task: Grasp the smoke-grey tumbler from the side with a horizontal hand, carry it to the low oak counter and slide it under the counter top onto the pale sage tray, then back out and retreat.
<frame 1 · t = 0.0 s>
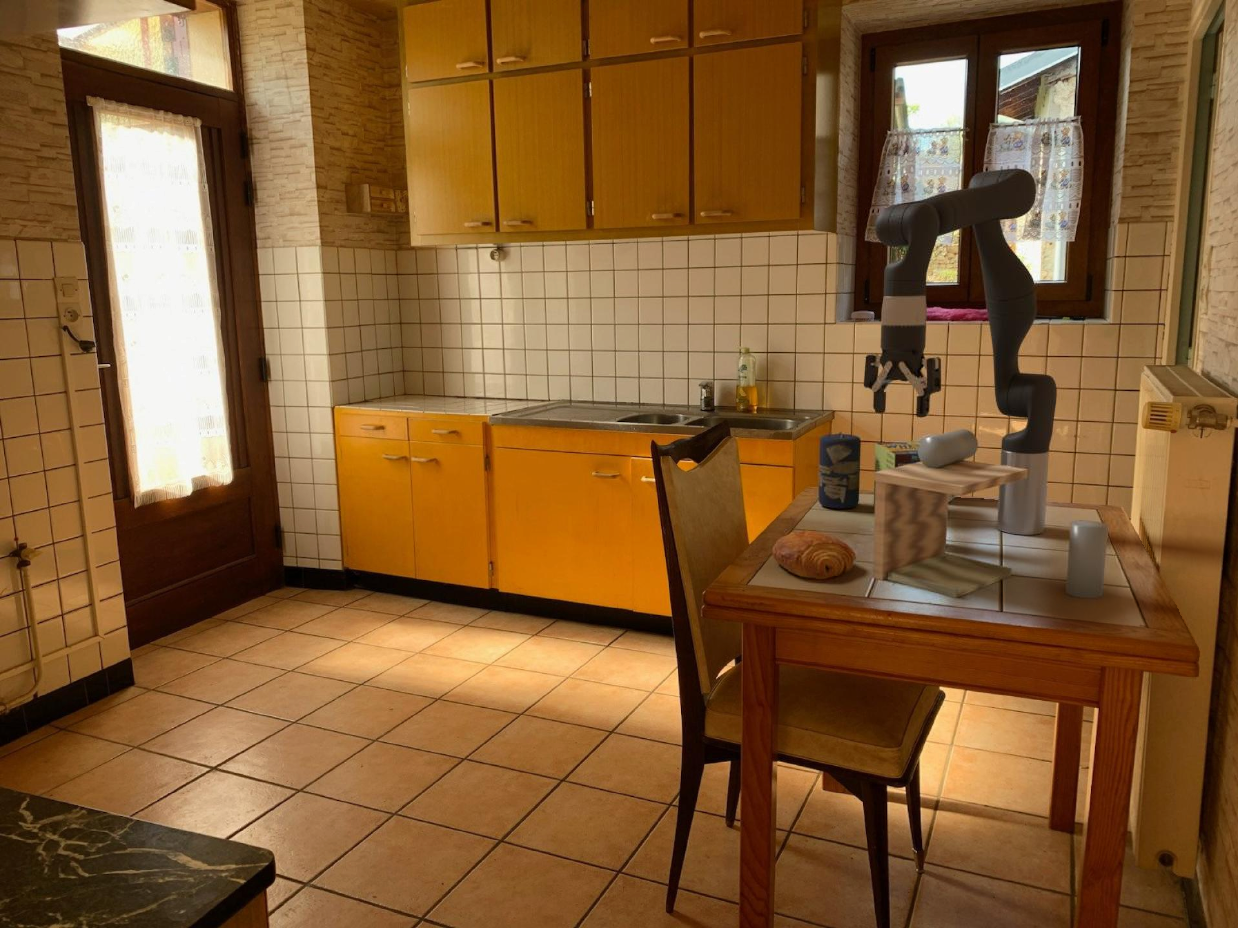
hand: (900, 414, 166), 29 cm above the table, tool pointing down, fingers open, 8 cm apart
protein box: (904, 514, 216), on the table
croissant: (813, 569, 176), on the table
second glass: (932, 452, 168), point 22 cm above the table, tilted 90°, touching counter
smoke glass: (1083, 593, 159), on the table
canister: (838, 506, 224), on the table
counter: (948, 577, 169), on the table
tea box: (935, 497, 232), on the table
travel mug: (930, 546, 190), on the table
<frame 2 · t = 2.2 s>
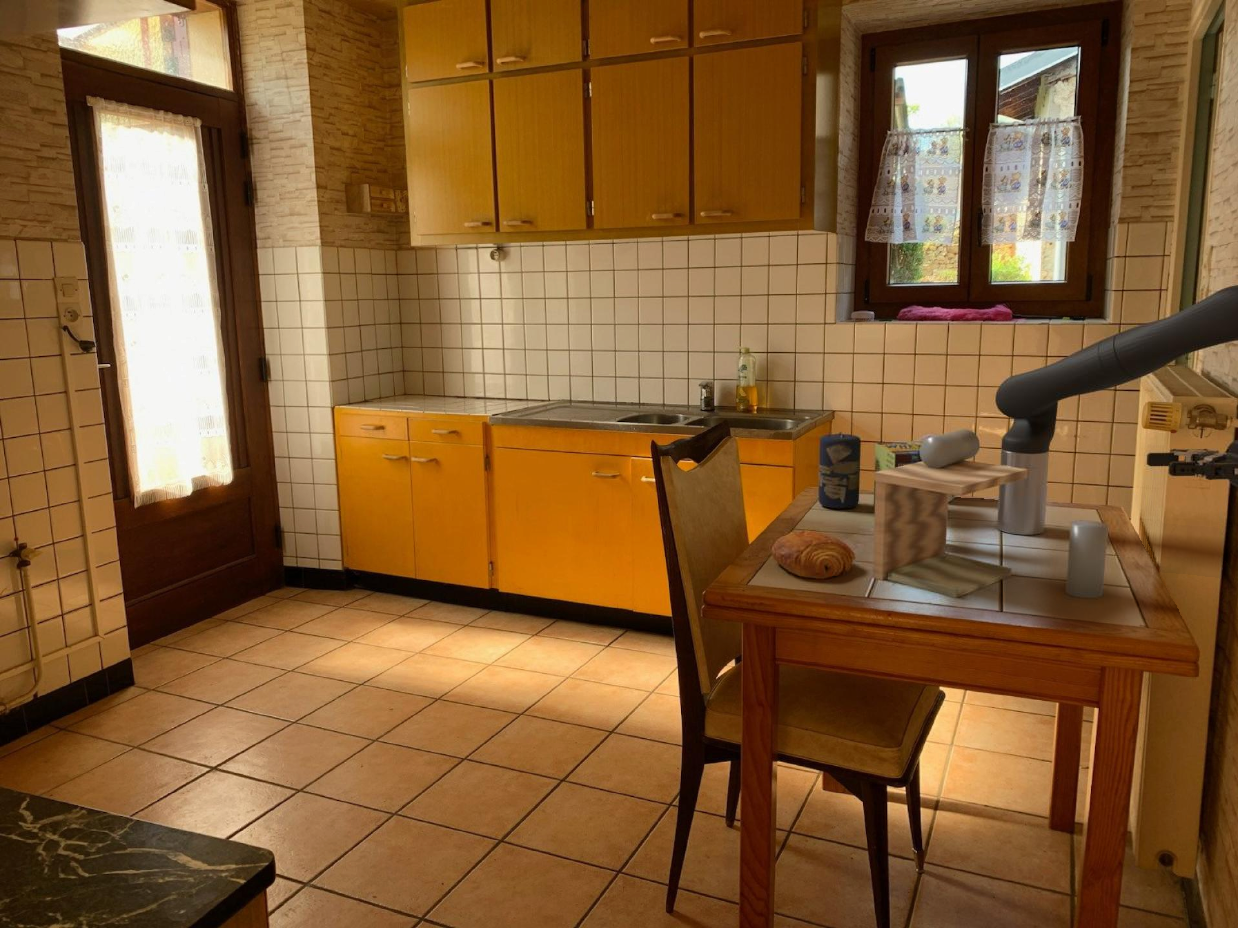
hand: (1158, 464, 154), 22 cm above the table, tool horizontal, fingers open, 8 cm apart
nothing on the table moved.
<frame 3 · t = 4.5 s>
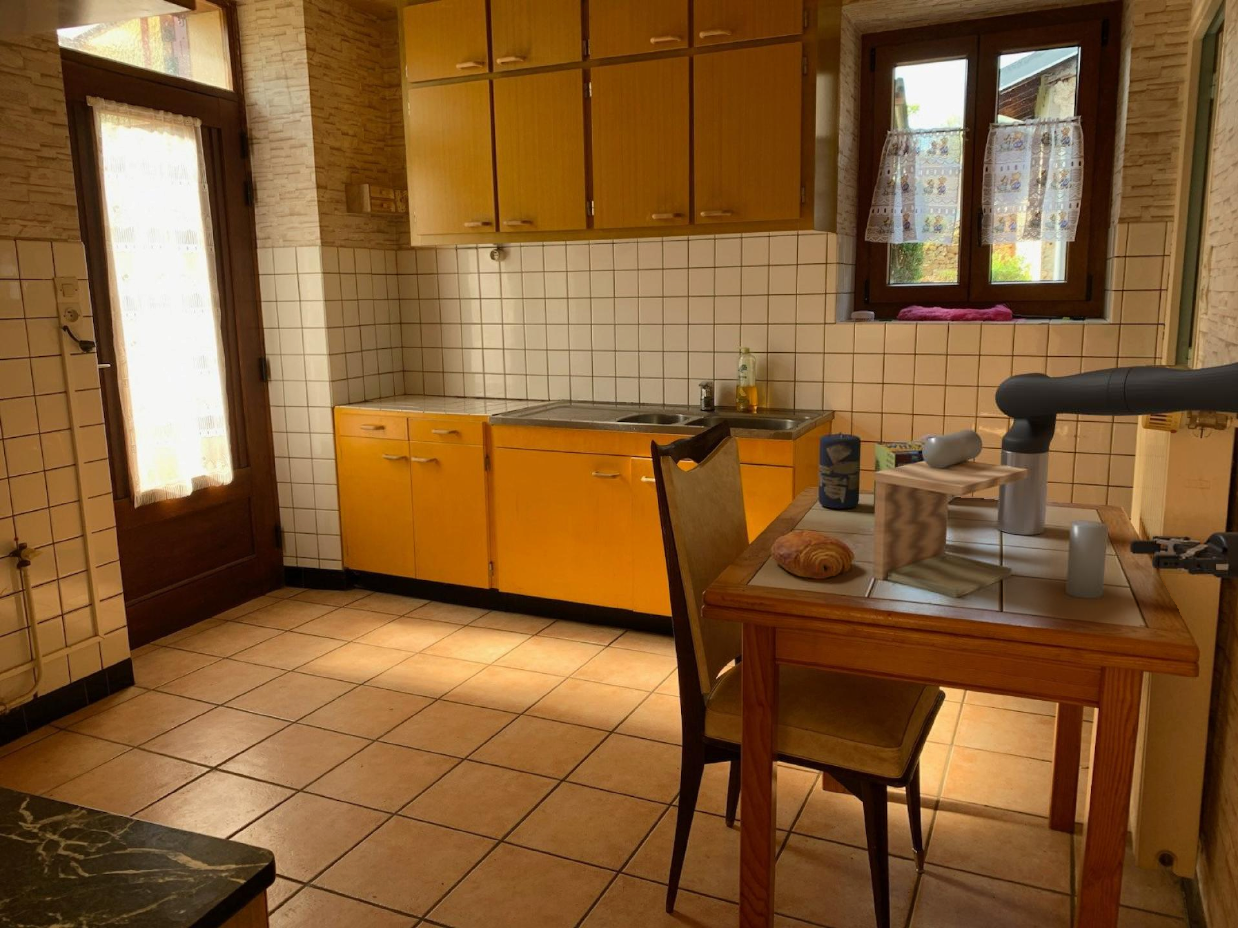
hand: (1142, 554, 157), 7 cm above the table, tool horizontal, fingers open, 8 cm apart
nothing on the table moved.
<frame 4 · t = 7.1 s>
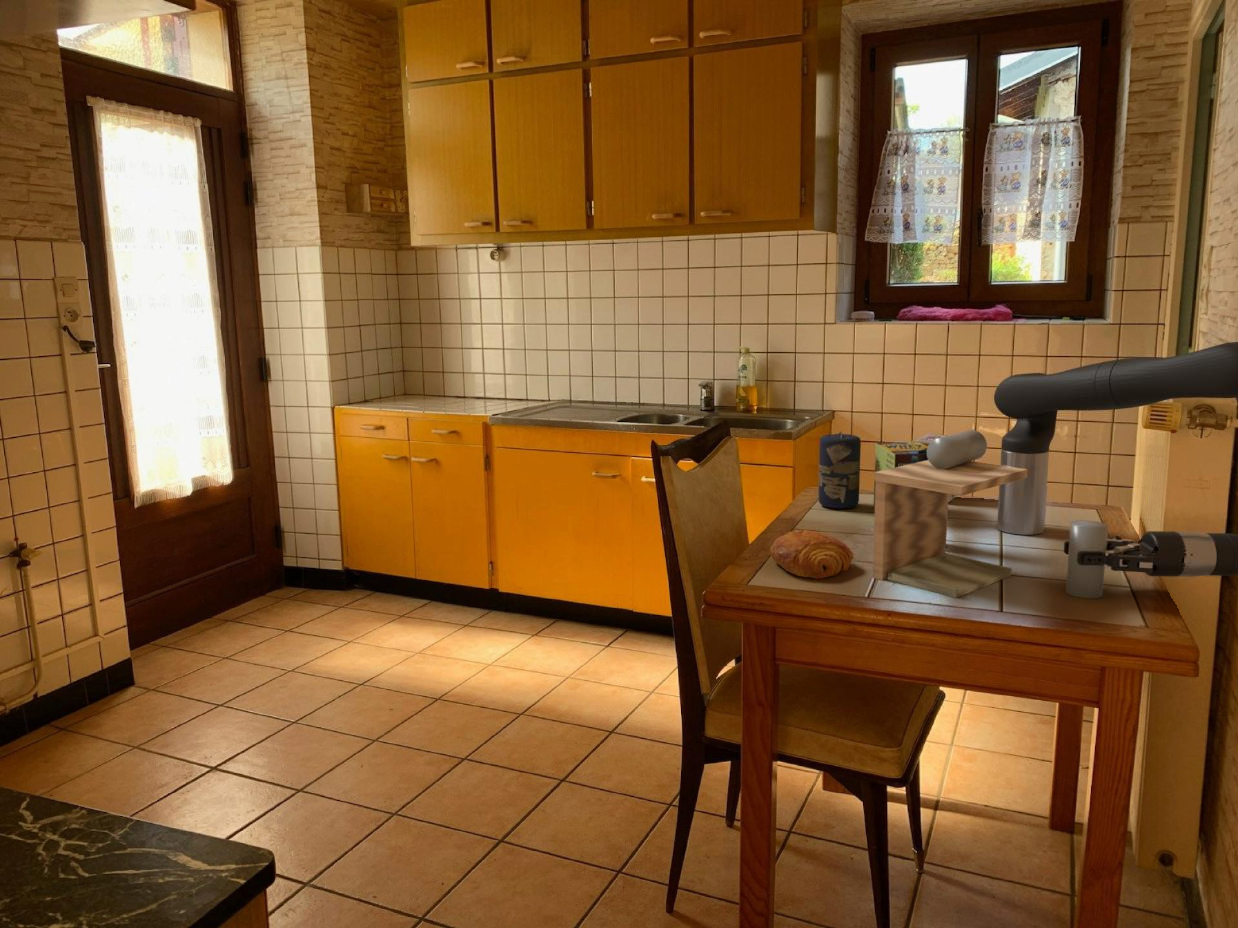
hand: (1071, 552, 158), 7 cm above the table, tool horizontal, fingers closed on smoke glass, 5 cm apart
smoke glass: (1084, 592, 159), on the table, touching gripper
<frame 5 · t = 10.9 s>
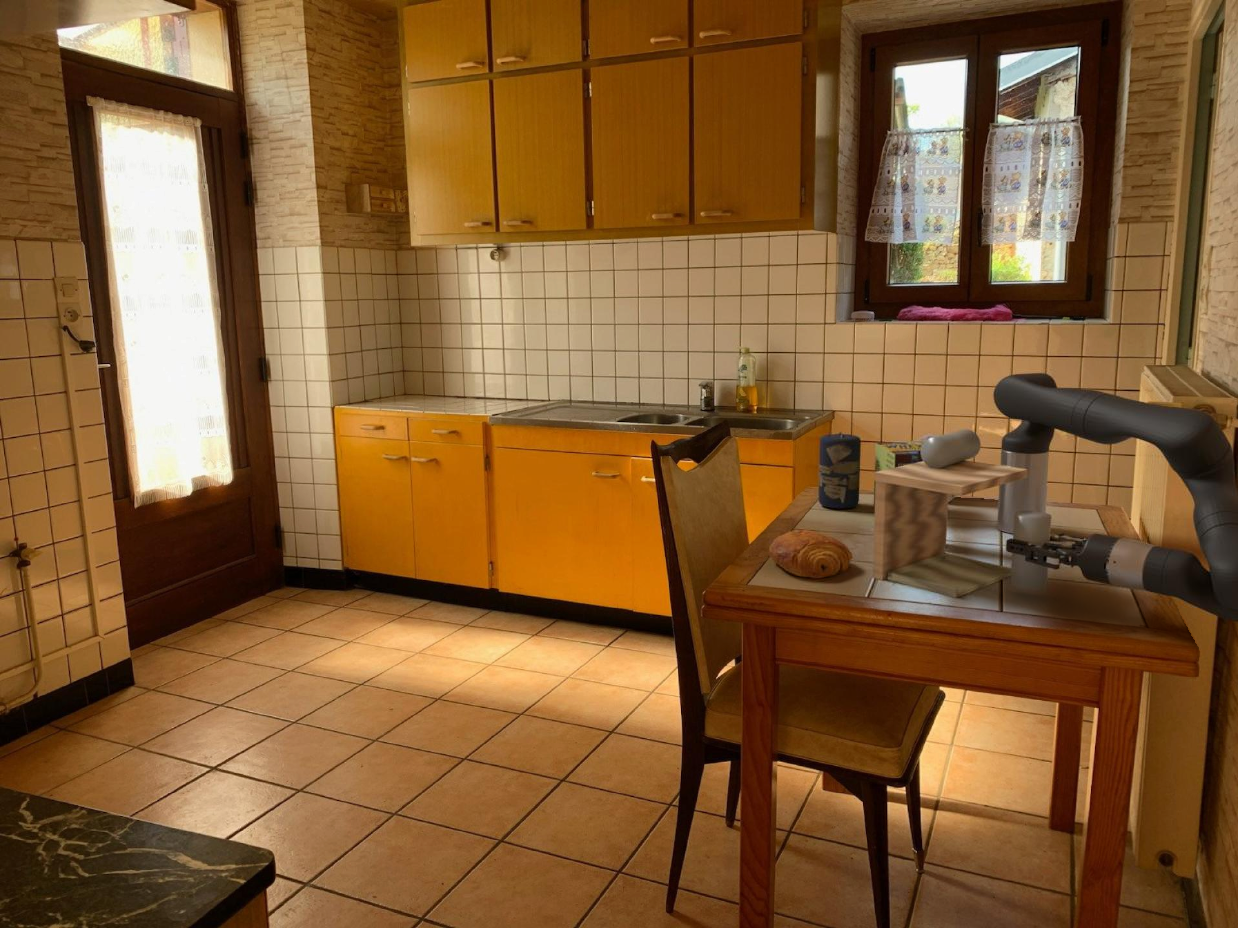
hand: (1017, 541, 158), 9 cm above the table, tool horizontal, fingers closed on smoke glass, 5 cm apart
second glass: (935, 453, 168), point 22 cm above the table, tilted 90°, touching counter
smoke glass: (1028, 584, 157), point 2 cm above the table, touching gripper
everything else where it was.
when the fingers open (9 cm above the table, at t = 14.9 s): smoke glass drops 2 cm, resting on counter.
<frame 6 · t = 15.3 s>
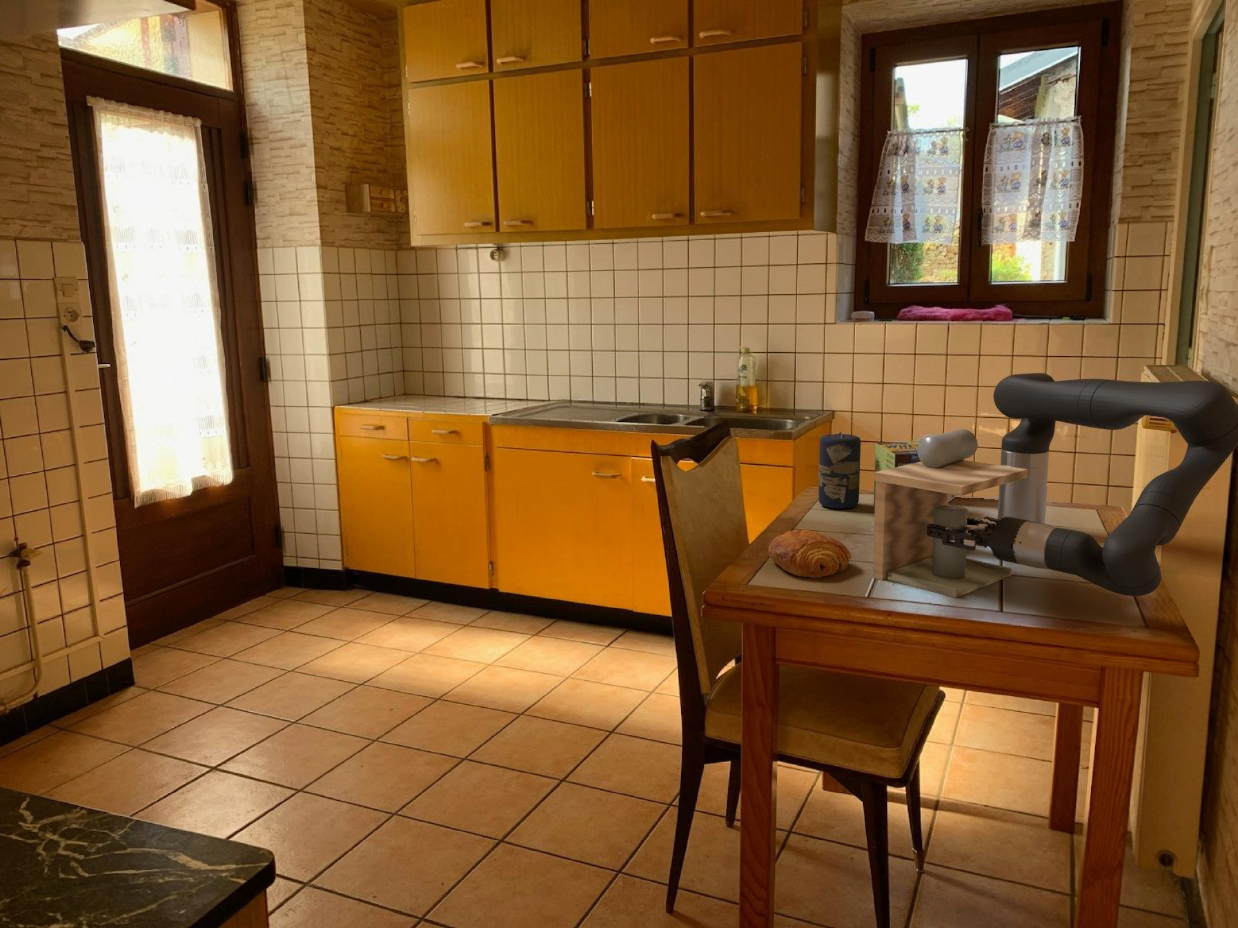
hand: (941, 525, 169), 9 cm above the table, tool horizontal, fingers open, 8 cm apart
smoke glass: (948, 573, 169), point 1 cm above the table, touching counter
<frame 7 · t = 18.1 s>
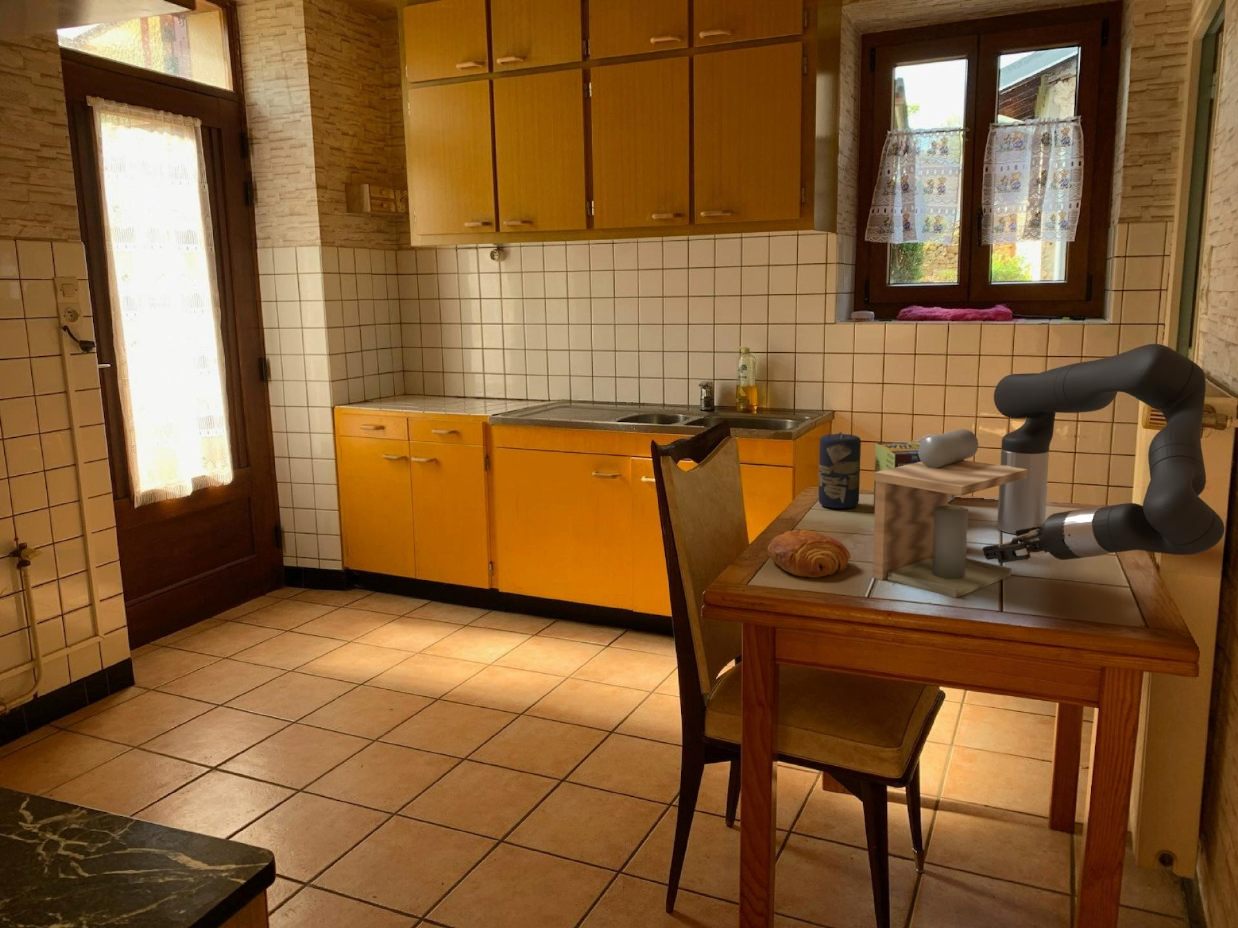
hand: (1001, 544, 160), 8 cm above the table, tool tilted 70°, fingers open, 8 cm apart
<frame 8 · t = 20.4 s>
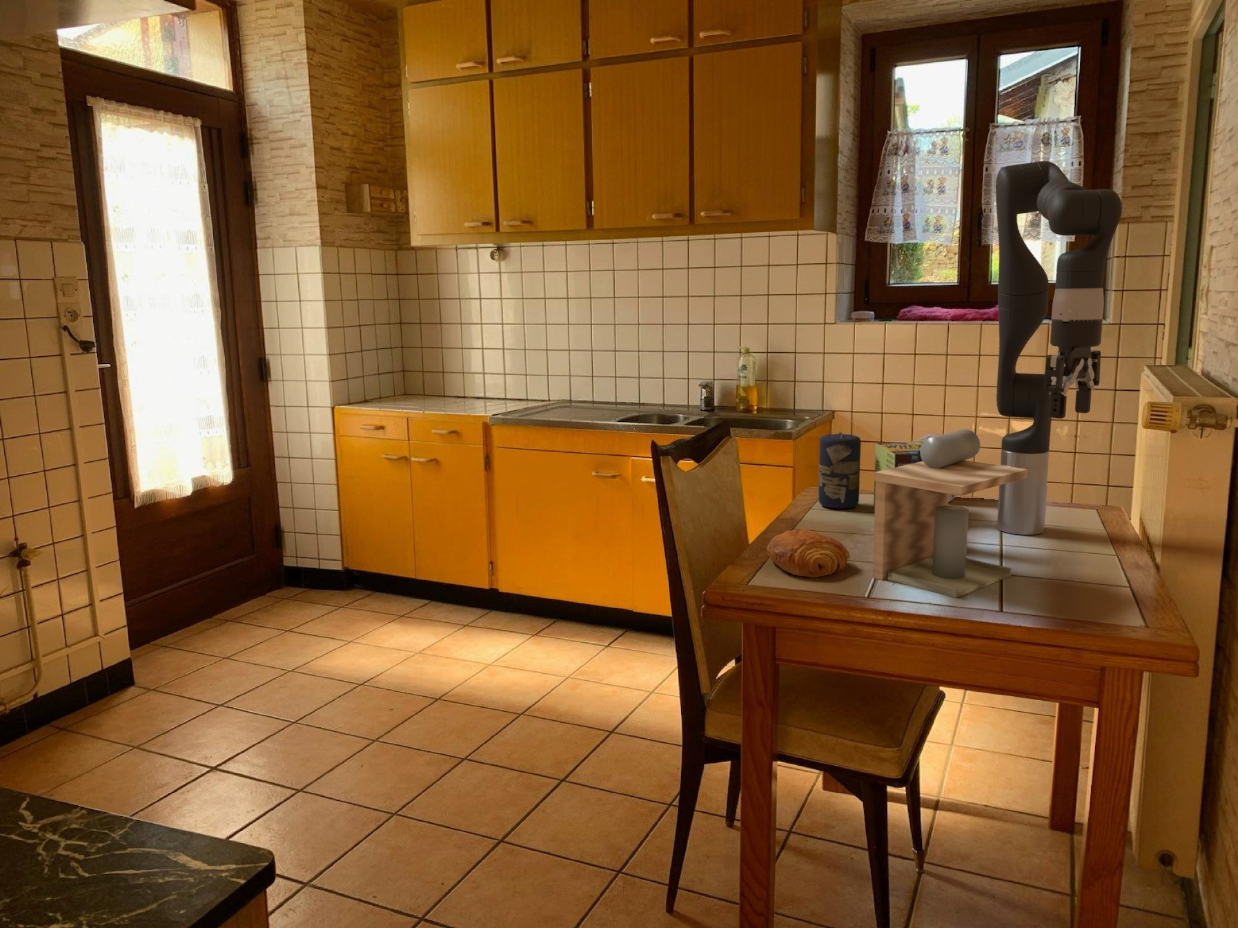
hand: (1070, 415, 156), 30 cm above the table, tool pointing down, fingers open, 8 cm apart
at the end: smoke glass inside the target area on the counter (0.5 cm from its centre), point 0.6 cm above the counter's base; smoke glass tilted 1°; the gripper is holding nothing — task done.
